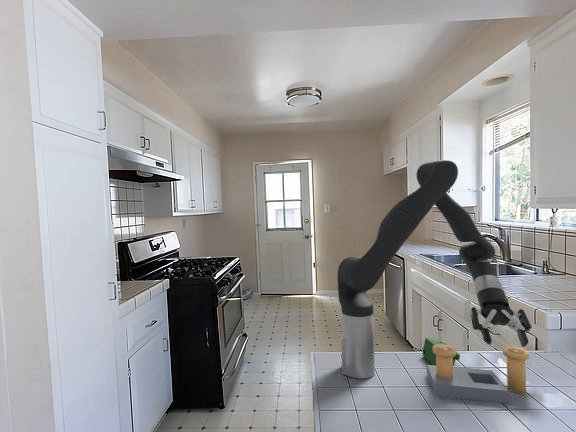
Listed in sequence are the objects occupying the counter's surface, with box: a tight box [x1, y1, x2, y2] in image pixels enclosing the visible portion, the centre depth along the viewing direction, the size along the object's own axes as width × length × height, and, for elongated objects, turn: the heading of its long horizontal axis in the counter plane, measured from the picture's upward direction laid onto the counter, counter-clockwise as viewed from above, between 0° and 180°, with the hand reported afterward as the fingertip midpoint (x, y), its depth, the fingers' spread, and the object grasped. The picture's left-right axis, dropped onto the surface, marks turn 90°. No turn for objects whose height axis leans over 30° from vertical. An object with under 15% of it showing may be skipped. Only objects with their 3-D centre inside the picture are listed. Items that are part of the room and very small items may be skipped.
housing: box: [426, 344, 510, 404], centre depth 85 cm, size 16×11×10 cm, turn 77°
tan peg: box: [502, 346, 530, 395], centre depth 84 cm, size 6×6×10 cm
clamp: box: [422, 337, 461, 367], centre depth 100 cm, size 12×6×9 cm, turn 175°
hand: (507, 344), depth 89 cm, fingers open, 8 cm apart
